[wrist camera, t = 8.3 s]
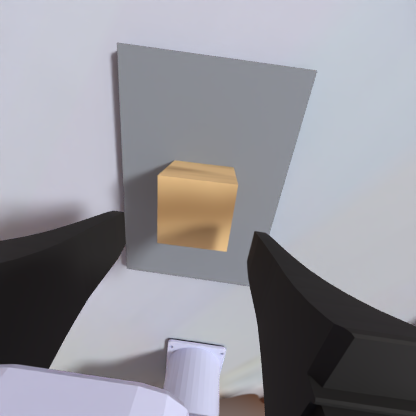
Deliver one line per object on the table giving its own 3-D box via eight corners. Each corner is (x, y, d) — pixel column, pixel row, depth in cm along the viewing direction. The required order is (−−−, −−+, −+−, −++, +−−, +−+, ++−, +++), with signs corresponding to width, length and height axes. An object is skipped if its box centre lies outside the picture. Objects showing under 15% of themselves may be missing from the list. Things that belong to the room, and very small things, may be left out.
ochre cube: (225, 219, 19) (226, 251, 14) (172, 213, 19) (157, 243, 14) (233, 167, 17) (238, 184, 12) (174, 160, 17) (157, 175, 12)
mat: (252, 280, 23) (253, 286, 22) (130, 262, 23) (126, 268, 22) (311, 73, 15) (317, 70, 14) (123, 47, 15) (116, 42, 14)
